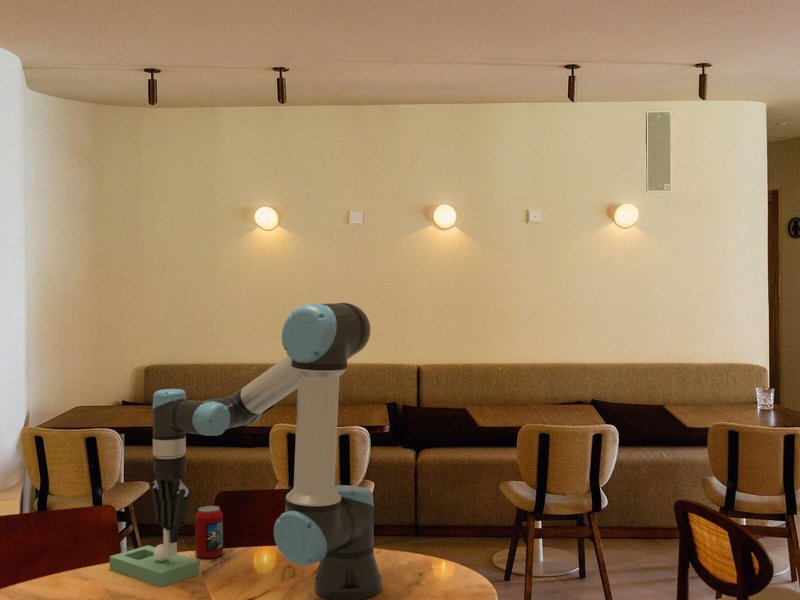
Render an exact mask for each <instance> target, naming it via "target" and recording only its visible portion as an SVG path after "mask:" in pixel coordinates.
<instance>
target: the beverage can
mask: <svg viewBox="0 0 800 600" xmlns="http://www.w3.org/2000/svg"><path fill="white" fill-rule="evenodd" d="M223 516H224V515H223V512H222V510H221V508H220V506H218V505H206V506H201V507H198V508H197V512H196V514H195V524H194V525H195V555H196V556H198V557H199V558H202V559H209V560H210V559H215V558H217V557H219V556H220V555H221V554H223V552H224V529H223V526H224V525H223V524H224V523H223V522H224V521H223V519H224V518H223Z"/></svg>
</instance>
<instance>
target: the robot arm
mask: <svg viewBox="0 0 800 600" xmlns="http://www.w3.org/2000/svg"><path fill="white" fill-rule="evenodd" d="M370 337H371V324H370V320H369V317H368V316H367V315H366V313H365V312H364V310H362V308H360V307H358V306H357V305H355V304H352V303H348V302H337V303H335V302H334V303H332V302H331V303H310V304H306V305H302V306H299V307H297V308H295V309H294V310H293V311H292V312H291V313H290V314H289V315H288V316H287V317H286V319H285V321H284V323H283V326H282V330H281V343H282V346H283V349H284V350H285V351H286V355H287V356H284V358H282V359H281V360H279V361H278V362H276V363H275V364H274V365H273V366H271V367H269V368H268V369H267V370H266V371H264V372H263V373H261V374H260V375H259V376H257V377H256V378H254V379H253V380H251V382H249V383H248V384H246V385H244V386H243V387H242V388H241V389H239V390H237V392H235V393H234V394H231V395H227V396H222V397H217V398H213V399H205V400H194V399H193V400H191V399H188V398H187V394H186V391H185V390H184V389H181V388H165V389H159V390H156V391H155V392H154V393H153V395H152V397H153V398H152V408H151V410H152V455H153V456H154V457H153V458H152V472H153V473H154V475H155V474H156V476H155V480H154V481H150V482H149V483H148V486H149V489H150V491H151V497H152V503H153V510H154V517H155V522H156V524H157V525H159V524H160V528H162V541H163V544H164V557H167V558H168V557H171V556H174V555H177V554H178V541H179V534H178V532H179V531H178V530H179V529H180V528H182V527H184V526H185V522H186V516H187V510H188V503H189V497H190V495H191V493H192V488H191V487H187V486H186V485H185V479H184V475H183V474H184V473H185V472H186V470H187V456H186V455H185V454H186V453H187V443H186V442H187V441H186V440H187V433H188V434H193V435H194V434H195V435H202V436H204V437H205V436H206V437H209V436H215V437H216V436H221V435H223V433H224V432H225V431H227V430H228V429H232V428H233V429H234V428H236V427H241V426H243V427H244V426H248V425H250V424H252V423H256V422H257V421H259V420H260V419H261V418H262V415H263V413H264V412H265V411H266V410H268V409H269V408H271V407H272V406H274V405H275V404H276V403H278V402H279V401H281V400H282V399H284V398H286V397H288V395H290V394H291V393H292V392H294V391H296V390H297V395H296V396H297V397H296V398H297V399H296V422H295V423H296V424H295V446H294V447H295V449H294V470H293V471H294V475H293V488H292V489H291V490H290V491H289V492H288V493H287V494H286V496H285V512H283V513H281V514H280V516H279V517H278V518H277V519H276V520H275V522H274V526H273V538H274V542H275V544H276V546H277V547H276V548H277V549H278V551H279V552H281V553H282V556H283V557H284V558H285V559H286V560H287V561H288V562H290V563H292V564H294V565H298V566H301V567H302V566H304V567H305V566H309V565H312V564H315V563H319V564H318V568H317V572H316V575H315V578H314V592H315V594H317V595H318V596H319V597H322V598H323V599H328V600H365V599H368V598H372V597H374V596H376V595H378V594H379V593H380V592H381V591H382V588H383V587H382V586H383V585H382V584H383V582H382V581H383V580H382V576H381V573H380V572H379V568H378V564H377V561H376V557H375V554H374V553H375V552H374V549H375V548H374V544H375V543H374V542H375V541H374V539H375V537H374V535H375V534H374V533H375V532H374V531H375V529H374V526H375V525H374V524H375V522H374V520H375V519H374V514H375V513H374V509H375V504H374V494H373V492H372V490H371V489H369V488H367V487H363V486H358V485H348V484H347V485H345V484H343V485H341V484H337V485H335V484H336V483H335V482H336V466H337V465H336V464H337V463H336V462H337V461H336V460H337V459H336V458H337V437H338V421H339V420H338V416H339V413H338V412H339V393H340V377H341V376H342V375H343V374H344V373H345V372H346V371H348V359H351V358H352V357H353V356H355V355H357V354H358V353H360V352H361V351H362V350H364V349H365V347H366V345H367V343H368V342H369V340H370Z"/></svg>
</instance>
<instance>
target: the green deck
mask: <svg viewBox="0 0 800 600" xmlns="http://www.w3.org/2000/svg"><path fill="white" fill-rule="evenodd" d="M155 548H156V547H155V546H152V545H144V546H140V547H138V548H134V549H131V550H128V551H124V552H120V553H117V554H113V555H109V571H112V572H116V573H119V574H121V575H125V576H128V577H130V578H133V579H135V580H139V581H142V582H144V583H148V584H151V585H153V586H156V587H160V588H163V587H167V586H169V585H172V584H175V583H177V582H180V581H184V580H187V579H190V578H192V577H195V576H198V575H200V572H201V571H200V568H201V567H200V566H201V564H200V560H198V559H196V558H192V557H188V556H186V555H183V554H179V553H177V555H174V556H171V557H169V558H168V559H167V560H166V561H163V562H160V561H157V560H156V559H155V558H154V554H153V552H154V549H155Z"/></svg>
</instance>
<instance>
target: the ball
mask: <svg viewBox="0 0 800 600" xmlns="http://www.w3.org/2000/svg"><path fill="white" fill-rule="evenodd" d="M153 554H154V558H155V559H156V560H157V561H160V562H163V561H166V560H167V559H168V558H169V557H168V558H167V557H164V543H160V544H157V545H156V547H155V549H154V552H153Z"/></svg>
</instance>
